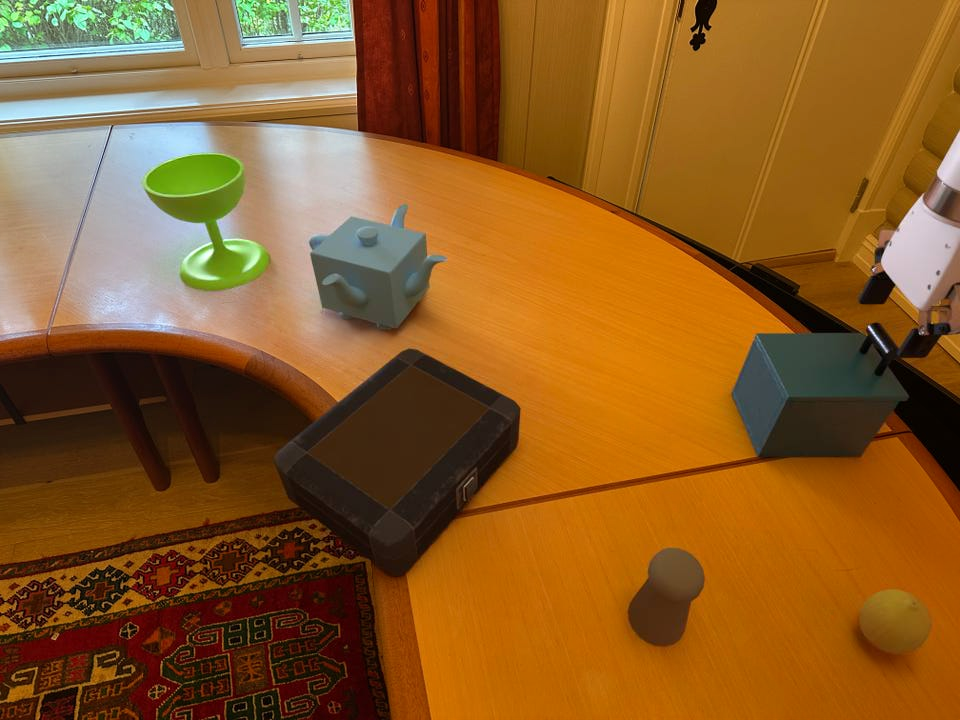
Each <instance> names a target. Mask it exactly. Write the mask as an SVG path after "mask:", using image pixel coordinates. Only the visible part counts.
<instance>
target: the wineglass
mask: <svg viewBox="0 0 960 720" xmlns="http://www.w3.org/2000/svg"><path fill="white" fill-rule="evenodd" d="M141 186H142V188H143V190H144V192H145V193H146V195H147V197H148V198H149V200H150V201H151V202H152V203H153V204H154V205H155V206H156V207H157V208H158V209H160V210H161V211H162V212H163V213H165V214H166V215H168V216H170V217H172V218H174V219H176V220H179V221H182V222H187V223H191V224H204V225H205V228H206V230H207V233H208V236H209V239H210V241H211V242H209V243H206V244H204V245H201V246H200V247H198V248H196V249H195V250H193V251H191V252H190V253H189V254H188V255H187V256H186V257H185V258H184V259H183V261H182V262H181V264H180V266H179V267H180V268H179V277H180V279H181V281H182V282H183V283H184V284H185V285H186V286H187V287H190V288H192V289H194V290H199V291H205V292H206V291H212V292H213V291H223V290H231V289H233V288H237V287H240V286H243V285H246V284H247V283H249V282H252V281H254V280H255V279H257V278H258V277H259V276H261V275H262V273H264V272H265V271H266V270H267V268H268V266H269V265H270V261H271V260H270V254H269V253H268V251H267V249H266V248H265V247H264V246H262V244H260V243H258V242H255V241H253V240H249V239H242V238H228V239H223V237H222V234H221V230H220V227H219V225H218V222H217V221H218V220H220V219H223V218H224V217H226V216H227V215H229V214H230V213H231V212H232V211H233V210H234V209H235V208H236V207H238V204H239V202H240V200H241V198H242V197H243V195H244V192H245V188H246V187H245V186H246V171H245V164H244V163H243V162H242V160H241V159H239V158H238V157H236V156H234V155H231V154H228V153H227V154H226V153H222V152H197V153H189V154H185V155H179V156H176V157H172V158H170V159H167V160H163V162H160V163H158V164H156V165H154V166H153V167H151V168H150V169H148V170H147V171H146V173H145V174H144V175H143V176H142V179H141Z"/></svg>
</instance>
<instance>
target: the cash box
mask: <svg viewBox="0 0 960 720" xmlns="http://www.w3.org/2000/svg"><path fill="white" fill-rule="evenodd" d="M521 409H522V408H521V406H520V405H519V404H518V403H517V402H516V401H515V400H514V399H513V398H510V397H508V396H506V395H505V394H503V393H501V392H500V391H497V390H496V389H494V388H491V387H490V386H487V385H486V384H484V383H482V382H480V381H479V380H477V379H474V378H473V377H471V376H469V375H467V374H465V373H463V372H461V371H459V370H457V369H456V368H453V367H451V366H449V365H448V364H446V363H444V362H442V361H440V360H438V359H436V358H435V357H432V356H431V355H428V354H427V353H425V352H423V351H421V350H419V349H417V348H410V347H408V348H406V349H403V350H401V351H400V352H399V353H398V354H396V355H394V356H393V358H391V359H390V360H389V361H388V362H386V363H385V364H383V366H381V367H380V368H379V369H377V371H376V372H374V373H372V374H371V375H370V376H369V377H367V379H366V380H364V381H362V383H360V384H359V385H358V386H357V387H355V388H354V389H353V390H352V391H350V392H349V393H348V394H347V395H345V396H344V397H343V398H341V399H340V400H339V401H338V402H337V403H336V404H335V405H333V406H332V407H331V408H330V409H328V410H327V411H326V412H325V413H323V414H322V415H321V416H320V417H319V418H317V419H316V420H315V421H314V422H312V423H310V425H308V426H307V427H306V428H305V429H303V430H302V431H301V432H300V433H299V434H297V435H296V436H295V437H294V438H292V439H291V440H290V441H289V442H288V443H286V444H285V445H284V446H283V447H281V448H280V449H279V450H278V451H277V452H276V454H275V456H274V458H273V463H274V465H275V468H276V470H277V473H278V476H279V479H280V481H281V484H282V486H283V489H284V492H285V494H286V496H287V499H288V500H289V501H291V502H292V503H293V504H295V505H296V506H297V507H298V508H300V509H301V510H303V511H304V512H305V513H306V514H308V515H309V516H311V517H312V518H313V519H314V520H316V521H317V522H318V523H320V524H321V525H322V526H323V527H325V528H327V529H328V530H329V531H331V533H333V534H334V535H335V536H337V537H338V538H340V539H341V540H342V541H344V542H345V543H346V544H347V545H349V546H350V547H351V548H353V549H354V550H356V551H357V552H358V553H359V554H360V555H362V556H363V557H365V558H366V559H368V561H370V562H371V563H372V564H374V565H376V567H377V568H379V569H381V570H382V571H383V572H384V573H386V574H387V575H391V576H395V577H400V576H402V575H404V574H406V573H407V572H409V570H410V569H411V568H412V567H413V566H414V565H415V564H416V563H417V561H419V559H420V558H421V557H422V556H423V555H424V554H425V553H426V551H427V550H429V548H430V547H431V546H432V544H433V543H434V542H436V540H437V539H438V538H439V536H440V535H441V534H442V533H443V532H444V531H445V529H447V527H448V526H449V525H450V524H451V523H452V521H454V519H456V518H457V516H458V515H459V514H460V512H461V511H462V510H463V509H464V508H465V507H466V506H467V504H468V503H469V502H470V501H471V500H472V499H473V498H474V496H475V495H476V494H477V493H478V492H479V491H480V490H481V488H482V487H483V486H484V485H485V484H486V483H487V482H488V480H490V478H491V477H493V475H494V474H495V473H496V472H497V470H498V469H499V468H500V467H501V466H502V465H503V464H504V463H505V461H506V460H507V459H508V458H509V457H510V455H511V454H512V453H513V452H514V451H515V450H516V448H517V447H518V443H519V438H520V425H521V424H520V423H521Z"/></svg>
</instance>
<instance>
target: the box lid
mask: <svg viewBox="0 0 960 720" xmlns="http://www.w3.org/2000/svg"><path fill="white" fill-rule="evenodd" d="M865 332H866V333H865ZM865 332H798V333H797V332H763V333H762V332H756V333H755V334H754V338H755V340H756V342H757V344H758V346H759V348H760V350H761V352H762V354H763V356H764V358H765V360H766V362H767V364H768V366H769V367H770V369H771V371H772V373H773V375H774V377H775V379H776V381H777V383H778V385H779V387H780V389H781V391H782V393H783V395H784V397H785V399H786V401H899V402H907V401H908V400H909V398H910V395H909V394H908V392H907V391H906V390H905V389H904V387H903V386H902V384H901V383H900V381H899V380H898V379H897V377H896V376H895V375H894V372H893V371H892V370H891V369H890V367H889V365H890V364H891V362H892V361H894V360H896V359H898V358H899V356H898V355H897V351H898V350H899V348H900V346H898V344H897V343H896V342H895V340H894V339H893V337H892V336H891V335H890V334H889V332H888V331H887V330H886V328H885V327H884V325H883V324H882V323H881V322H878V321H877V322H872V323H870V324H868V325H867V326H866V328H865ZM866 334H867V335H866ZM754 338H753V339H754ZM873 344H874V345H875V346H876V347H877V349H878V350H879V351H880V353H881V354H882V356H883V357H882V356H881V355H880V353H879V352H878V350H877V349H876V347H875V346H874V345H873Z"/></svg>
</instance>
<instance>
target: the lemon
mask: <svg viewBox="0 0 960 720" xmlns="http://www.w3.org/2000/svg"><path fill="white" fill-rule="evenodd" d="M858 621H859V628H860V629H861V632H862V634H863V636H864V637H865V639H867V641H868V642H869V643H870V644H871V645H873V646H874V647H875V648H877V649H878V650H880V651H882V652H885V653H888V654H890V655H891V654H892V655H904V654H910V653H913V652H915V651H917V650H918V649H919V648H921V647H922V646H923V645H924V644H925V642H926V641H927V640H928V638H929V636H930V634H931V630H932V617H931V614H930V612H929V610H928V609H927V606H926V605H925V604H924V603H923V602H922V601H921V600H920V599H919V598H918V597H917V596H915V595H914V594H912V593H910V592H908V591H905V590H901V589H896V588H890V589H889V588H888V589H883V590H881V591H880V590H879V591H878V592H875V593H873V594H872V595H871V596H869V597H868V598H867V599H865V601H864V602H863V604H862V606H861V608H860V609H859V614H858Z"/></svg>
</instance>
